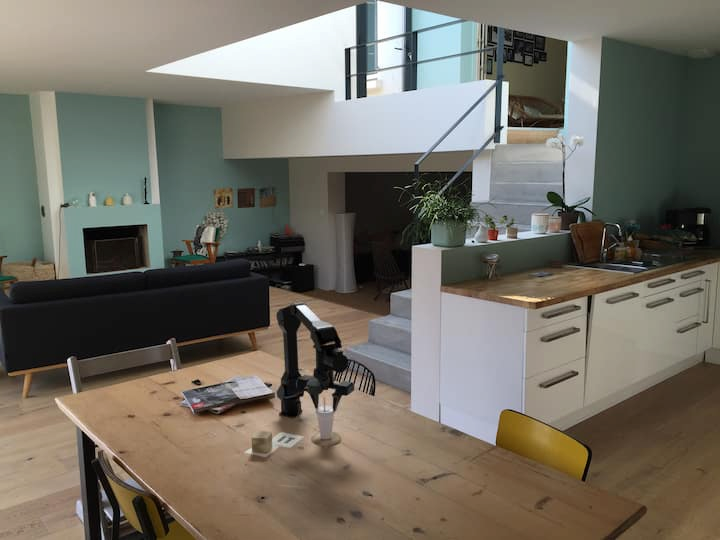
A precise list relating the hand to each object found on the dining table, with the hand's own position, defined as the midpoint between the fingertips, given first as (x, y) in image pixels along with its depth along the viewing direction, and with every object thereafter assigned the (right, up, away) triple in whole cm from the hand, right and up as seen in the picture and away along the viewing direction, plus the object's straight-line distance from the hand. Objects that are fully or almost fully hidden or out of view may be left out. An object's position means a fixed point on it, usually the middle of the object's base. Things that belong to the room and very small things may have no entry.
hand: (325, 409), depth 196 cm
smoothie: (0, -9, +1) cm, 10 cm away
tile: (-20, -11, -6) cm, 24 cm away
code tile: (-13, -10, +1) cm, 17 cm away
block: (-20, -11, -6) cm, 23 cm away
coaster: (0, -10, +2) cm, 10 cm away
